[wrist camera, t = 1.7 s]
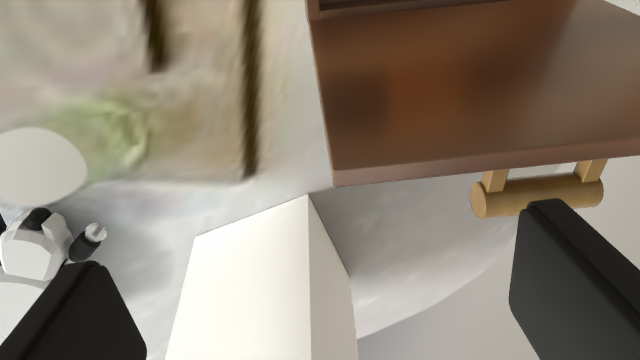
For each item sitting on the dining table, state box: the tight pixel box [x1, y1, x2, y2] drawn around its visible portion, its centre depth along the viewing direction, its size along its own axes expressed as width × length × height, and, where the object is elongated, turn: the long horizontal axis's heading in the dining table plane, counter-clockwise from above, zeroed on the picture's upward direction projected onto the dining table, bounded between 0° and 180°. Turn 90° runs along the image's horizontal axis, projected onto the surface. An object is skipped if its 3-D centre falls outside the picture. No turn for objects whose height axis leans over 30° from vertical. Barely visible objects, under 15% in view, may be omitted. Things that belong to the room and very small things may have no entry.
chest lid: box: [308, 0, 640, 219], centre depth 21 cm, size 15×18×5 cm
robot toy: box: [0, 207, 107, 338], centre depth 38 cm, size 12×4×15 cm
